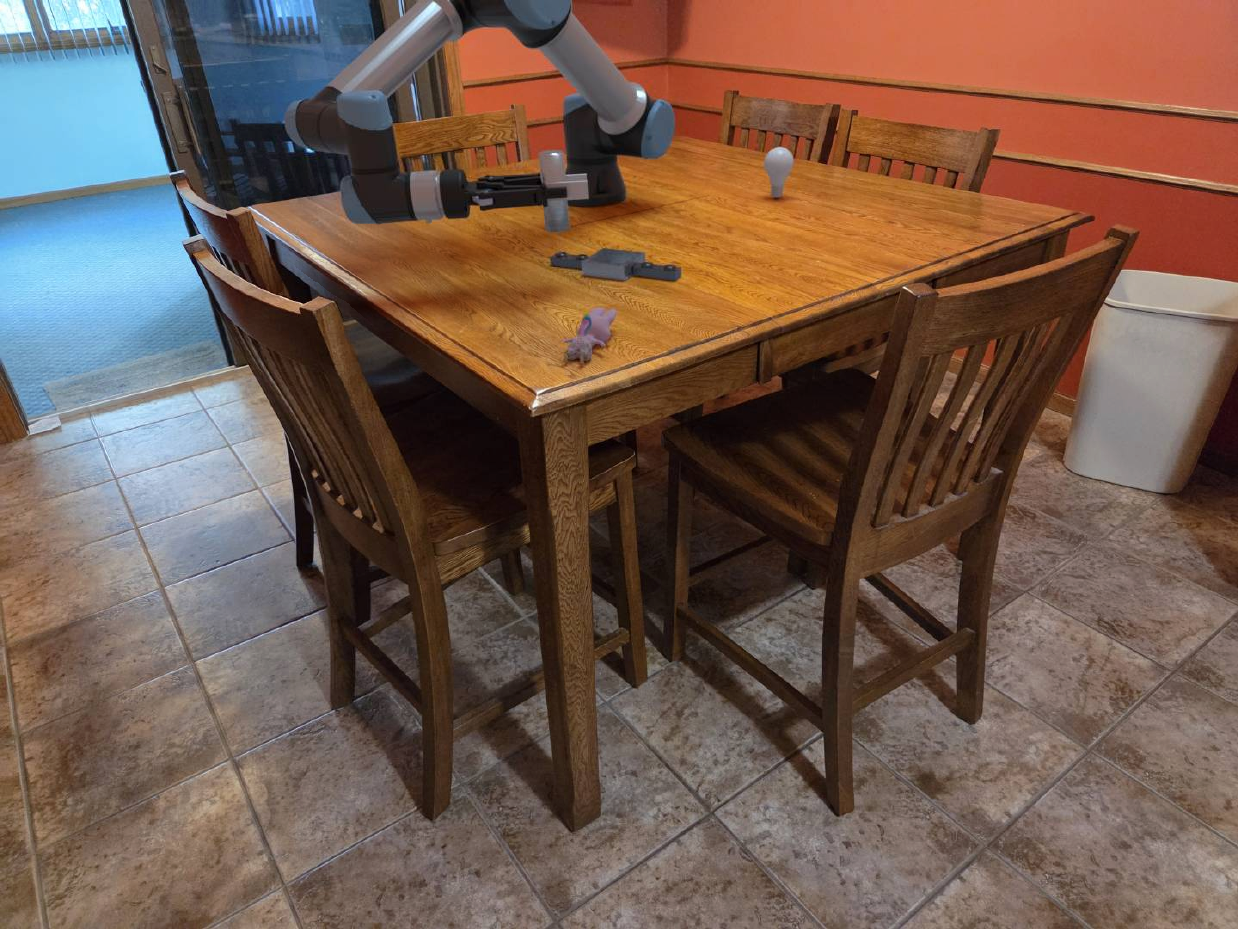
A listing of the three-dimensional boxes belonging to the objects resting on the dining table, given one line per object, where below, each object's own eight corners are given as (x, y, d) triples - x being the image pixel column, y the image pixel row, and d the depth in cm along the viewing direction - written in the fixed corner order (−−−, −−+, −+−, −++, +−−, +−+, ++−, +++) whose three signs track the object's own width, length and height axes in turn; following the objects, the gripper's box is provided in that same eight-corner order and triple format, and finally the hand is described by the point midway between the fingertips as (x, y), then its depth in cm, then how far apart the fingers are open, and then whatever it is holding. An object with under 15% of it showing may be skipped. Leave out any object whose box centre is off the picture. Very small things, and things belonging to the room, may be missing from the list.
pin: (541, 230, 134) (533, 154, 127) (553, 224, 137) (546, 149, 130) (562, 233, 132) (555, 155, 126) (574, 226, 135) (568, 150, 129)
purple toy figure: (595, 377, 111) (630, 321, 122) (590, 340, 107) (626, 285, 118) (554, 372, 113) (591, 317, 124) (547, 335, 109) (586, 282, 120)
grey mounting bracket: (542, 270, 147) (541, 256, 146) (565, 256, 153) (564, 243, 152) (668, 286, 137) (668, 272, 136) (687, 271, 143) (687, 257, 142)
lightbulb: (789, 194, 186) (793, 144, 180) (792, 201, 181) (795, 149, 175) (761, 195, 187) (764, 144, 181) (763, 202, 182) (765, 150, 176)
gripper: (452, 204, 140) (587, 196, 140) (439, 233, 125) (590, 223, 126) (445, 159, 136) (584, 150, 136) (431, 183, 121) (587, 173, 122)
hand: (587, 185), depth 131 cm, fingers closed on pin, 4 cm apart
